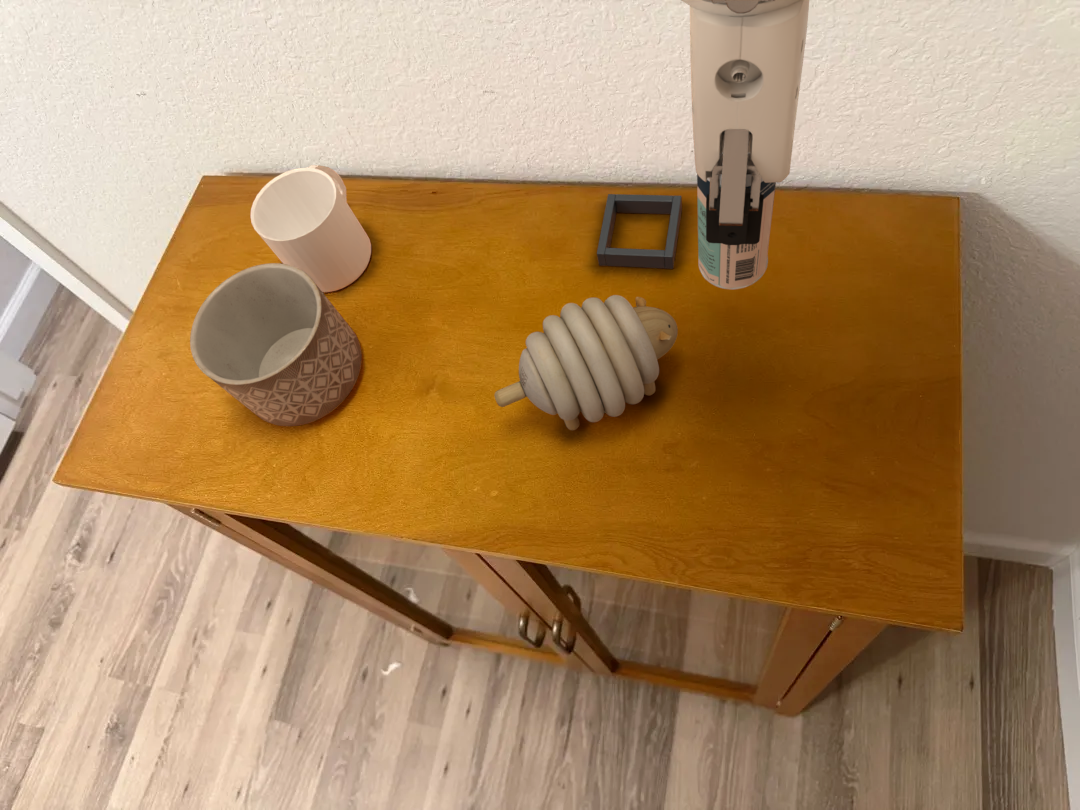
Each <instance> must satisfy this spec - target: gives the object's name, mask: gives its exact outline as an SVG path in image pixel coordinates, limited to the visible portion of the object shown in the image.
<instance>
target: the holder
mask: <svg viewBox="0 0 1080 810" xmlns="http://www.w3.org/2000/svg"><path fill="white" fill-rule="evenodd" d="M682 198H683V197H682V195H663V194H662V195H661V194H624V193H623V194H621V193H618V194H617V193H616V194H615V193H608V194H607V197H606V203H605V204H606V205H605V209H604V213H603V218H602V219H603V220H602V223H601V229H600V235H599V239H598V243H597V244H598V246H597V250H596V257H597V261H598V266H604V267H605V266H606V267H607V266H608V267H624V268H625V267H626V268H645V269H667V270H673V269H674V267H675V259H676V254H677V245H678V241H679V240H678V239H679V231H680V225H681V217H682V211H683V199H682ZM618 213H619V214H649V215H650V214H651V215H652V214H653V215H655V214H656V215H669V222H668V229H667V235H666V242H665V249H645V248H623V247H622V248H621V247H611V245H612V240H613V234H614V229H615V224H616V223H615V222H616V217H617V214H618Z"/></svg>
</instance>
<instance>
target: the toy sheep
mask: <svg viewBox="0 0 1080 810" xmlns="http://www.w3.org/2000/svg"><path fill="white" fill-rule="evenodd" d="M559 315H560V317H559V316H558V315H555V314H552V315H551V314H550V315H548V316H545V318H544V319H543V321H542V330H543V331H534V332H531V333H530V334H529V335H528V336H527V337H526V339H525V346H526V348H524V349H523V350H522V351H521V354H520V356H519V357H520V358H519V362H518V378H519V381H517V382H514V383H511V384H509V385H507V386H505V387H502V388H500V389H498V390H496V391H495V392H494V399H495V401H496V404H497V405H498V407H501V408H505V407H507V406H509V405H512V404H513V403H516V402H518V401H521V400H523V399H526V398H527V399H528V400H529V401H530V402H531V403H532V404H533V405H534V406H535V407H536V408H538V409H539V410H540V411H542V412H544V413H547V414H549V415H551V416H556V415H557V414H558V416H559V418H560V419H561V420H563V421H564V425H565V427H566V428H567V429H568V430H569V431H576V430H577V429H578V428H579V427H580V420H579V417H578V416H579V415H580V413H581V414H582V416H583V417H584V418H585V420H587V421H588V422H590V423H597V422H599V421H601V420H602V419H603V417H604V416H605V415H604V414H606V415H607V416H609V417H611V418H612V417H614V418H616V417H620V416H621V415H622V414H623V413H624V412H625V409H626V404H628V405H636V404H639V403H640V402H641V401H642V400H643V399H644V397H645V396H652V395H653V394H655V392H656V382H655V381H656V380H657V379H658V377H659V375H660V365H659V361H658V360H659V359H661V358H662V357H664V356H665V355H666V354H667V353H668V352H669V351H670V350H671V349H672V348H673V346H674V345H675V343H676V341H677V339H678V331H679V329H678V324H677V322H676V319H674V317H673V315H671V314H670V313H668V312H667V311H665V310H664V309H661V308H658V307H653V306H647V299H645V298H644V297H641V296H636V297H635V306H632V304H631V303H630V302H629V300H628V299H626V298H625V297H624V296H622V295H619V294H613V295H610V296H608V297H607V299H605V301H604V302H603V301H602V299H600V298H599V297H588V298H586V299H585V300H584V301H583V302H582V304H581V306H580V305H579V304H577V303H574V302H568V303H566V304H564V305H563V307H562V308H561V310H560V313H559ZM644 395H645V396H644Z"/></svg>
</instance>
